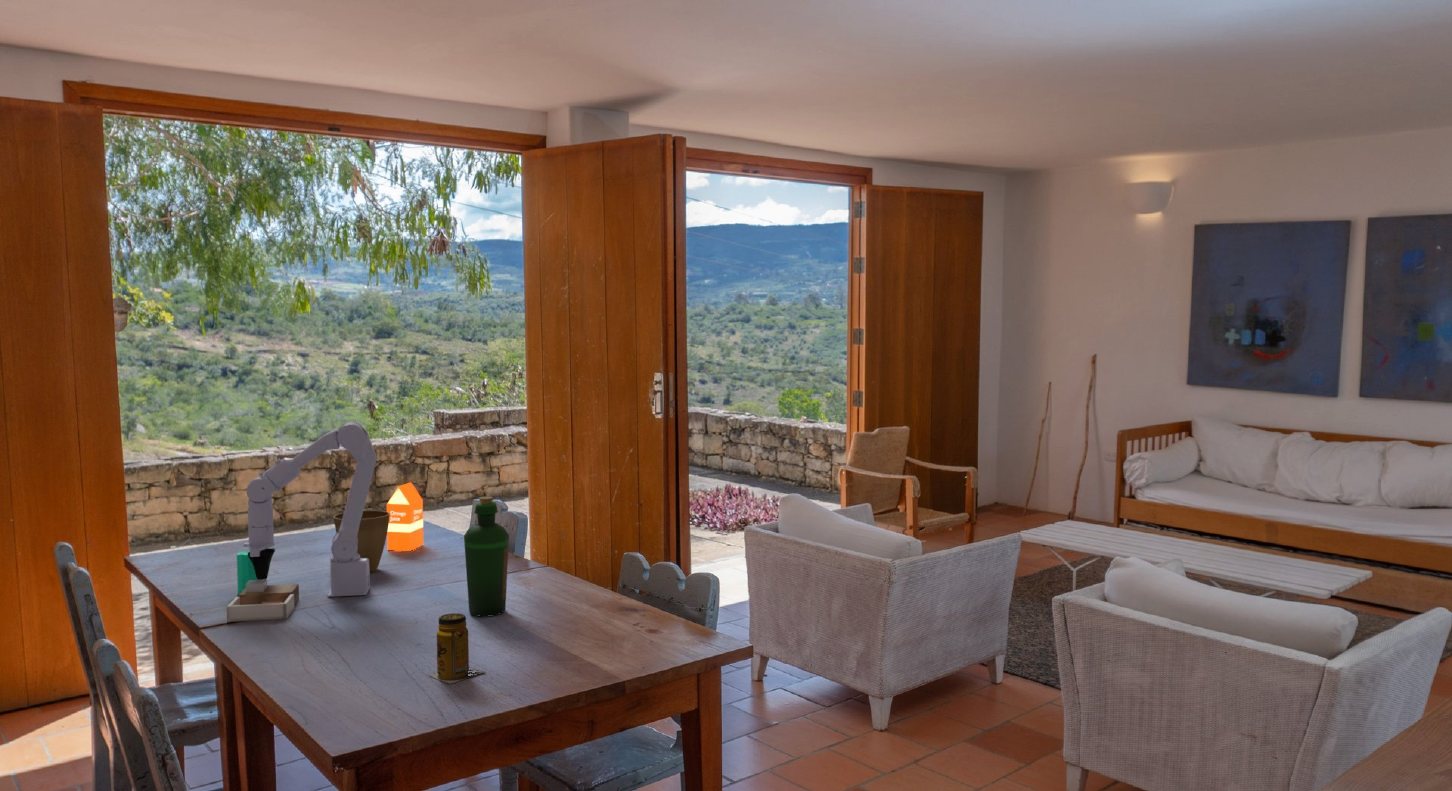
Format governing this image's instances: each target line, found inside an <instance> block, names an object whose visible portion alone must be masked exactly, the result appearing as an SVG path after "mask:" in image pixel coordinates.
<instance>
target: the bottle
mask: <svg viewBox="0 0 1452 791" xmlns="http://www.w3.org/2000/svg"><path fill="white" fill-rule="evenodd" d="M478 498H479V501H478V502H476V504H475V507H474V514H476V518H477V523H475V524H473V525H472V526H470V527H469V528H468V529H467V531H466V532H465V534H464V535H463V542H464V555H465V557H464V558H465V568H466V569H465V570H466V571H465V572H466V583H467V584H466V586H467V599H468V600H467V601H468V611H469V614H471V615H473V616H476V615H480V616H479V617H483V616H486V617H489V616H488V615H494V616H497V615H496V614H498V615H500V614H502V613H504V612H505V611H506V606H507V605H506V604H507V587H508V586H507V585H508V584H507V582H508V567H509V566H508V565H509V564H508V563H509V560H508V559H509V542H510V541H509V540H510V536H509V533H508V532H507V530H506V529H505V527H504V526H502V525H501V524H499V523H497V522H496V514H497V513H499V510H498V507H497V502H495V501H494V497H493V496H480V497H478ZM499 613H500V614H499Z"/></svg>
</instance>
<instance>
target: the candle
mask: <svg viewBox="0 0 1452 791" xmlns="http://www.w3.org/2000/svg"><path fill="white" fill-rule="evenodd" d="M248 552H250V549H249V548H248V550H244V551H240V552H238V553H236V571H237V572H236V575H237V577H236V580H237V595H238V596H239V594H240V593H241V592H242V591H243V590H244V589H245V588H246V583H247V582H248V581H249V580H257V578H256V574H255V570H254V567H253V564H252V562H251V560H250V559H249V557H248ZM262 580H264V579H262Z"/></svg>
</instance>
